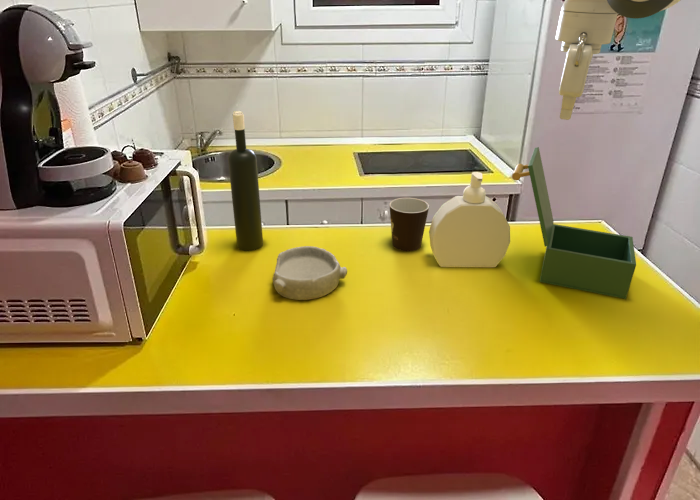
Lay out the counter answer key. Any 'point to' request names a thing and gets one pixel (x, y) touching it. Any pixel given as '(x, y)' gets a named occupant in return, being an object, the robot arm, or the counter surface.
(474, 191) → the soap bottle
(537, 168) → the lid
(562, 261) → the green box
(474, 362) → the counter surface
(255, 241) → the wine bottle
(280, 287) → the dish
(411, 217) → the coffee mug
